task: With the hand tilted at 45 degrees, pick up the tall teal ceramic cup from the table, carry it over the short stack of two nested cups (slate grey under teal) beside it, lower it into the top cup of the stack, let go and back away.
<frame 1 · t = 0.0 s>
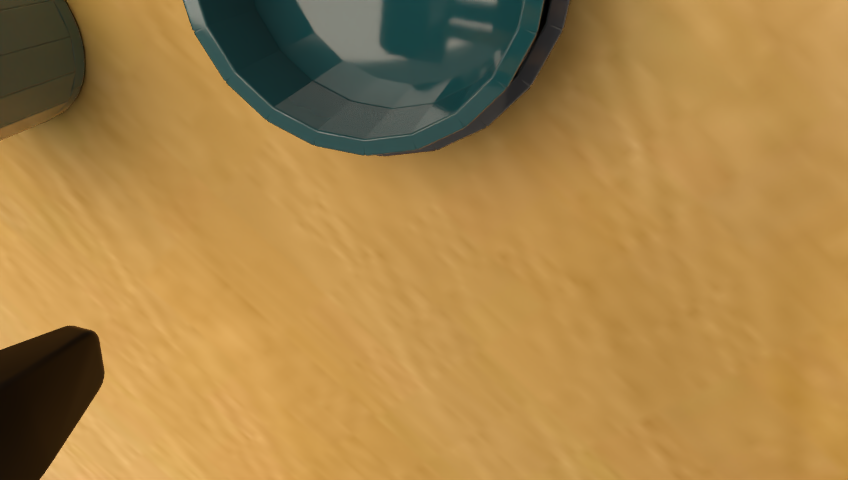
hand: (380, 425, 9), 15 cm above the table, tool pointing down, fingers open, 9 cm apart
teal cup: (8, 36, 25), on the table
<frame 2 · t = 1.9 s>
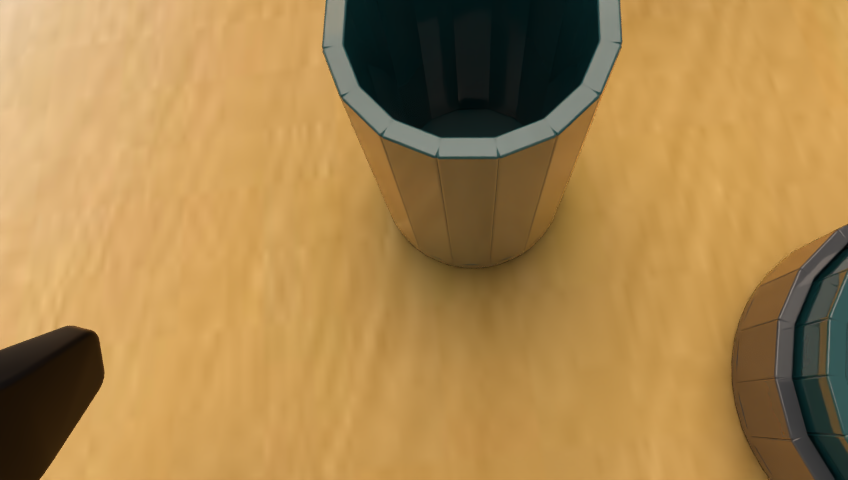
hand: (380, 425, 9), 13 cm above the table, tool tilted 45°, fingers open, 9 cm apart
teal cup: (472, 183, 24), on the table
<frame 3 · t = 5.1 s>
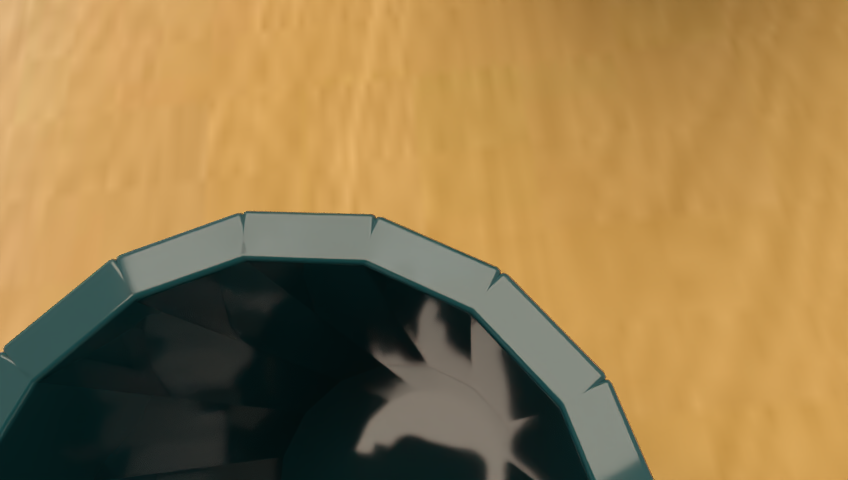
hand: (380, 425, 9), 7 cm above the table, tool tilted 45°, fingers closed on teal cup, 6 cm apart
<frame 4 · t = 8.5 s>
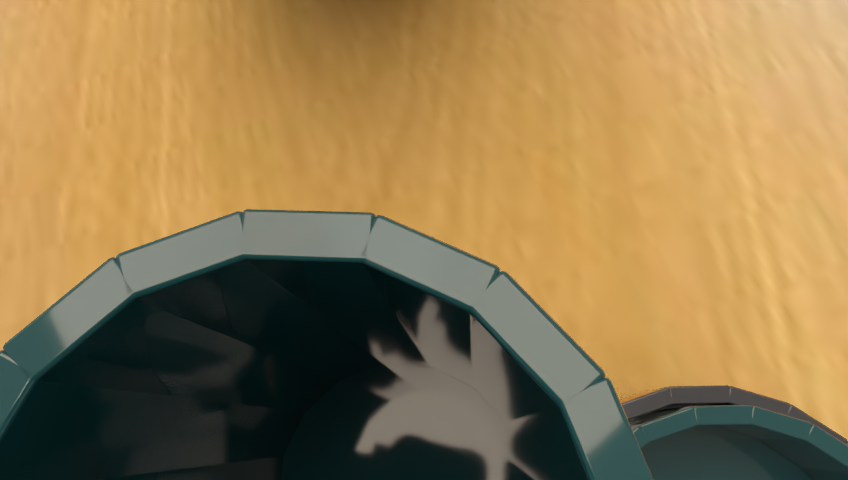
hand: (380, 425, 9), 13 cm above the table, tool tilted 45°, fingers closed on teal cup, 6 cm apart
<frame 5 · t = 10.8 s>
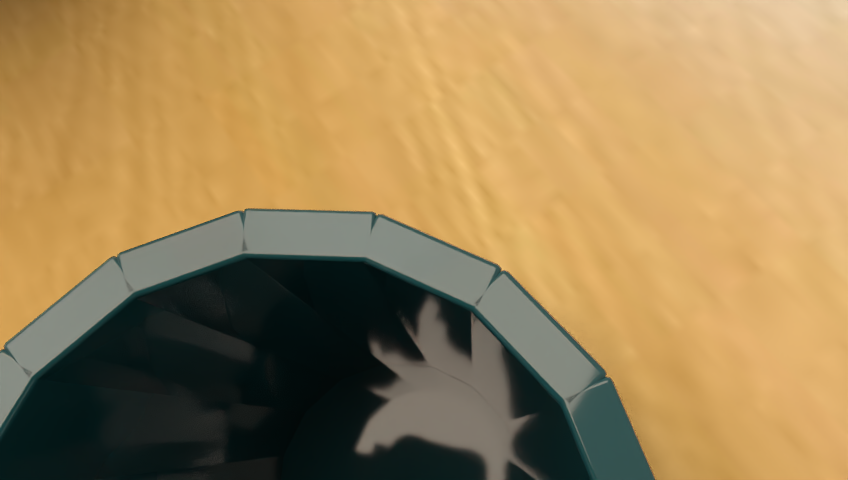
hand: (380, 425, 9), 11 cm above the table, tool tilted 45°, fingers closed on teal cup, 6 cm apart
when the fingers open (9 cm above the table, at t = 12.1 s): teal cup stays where it is, resting on stack top cup.
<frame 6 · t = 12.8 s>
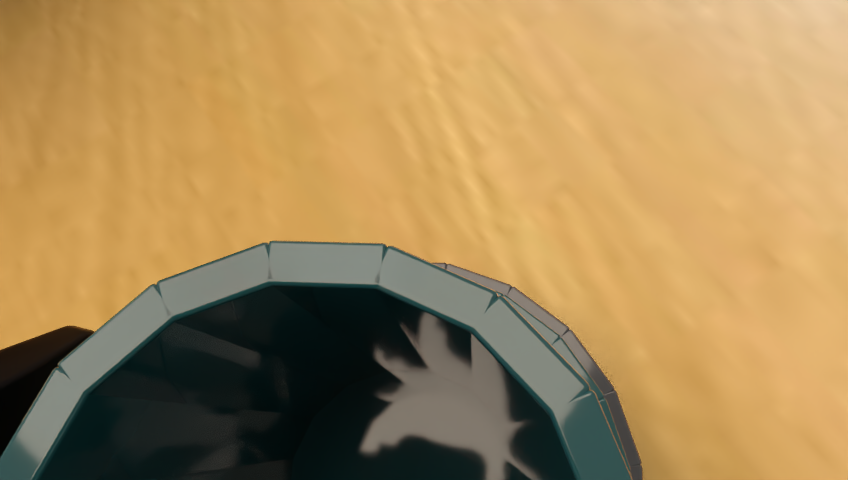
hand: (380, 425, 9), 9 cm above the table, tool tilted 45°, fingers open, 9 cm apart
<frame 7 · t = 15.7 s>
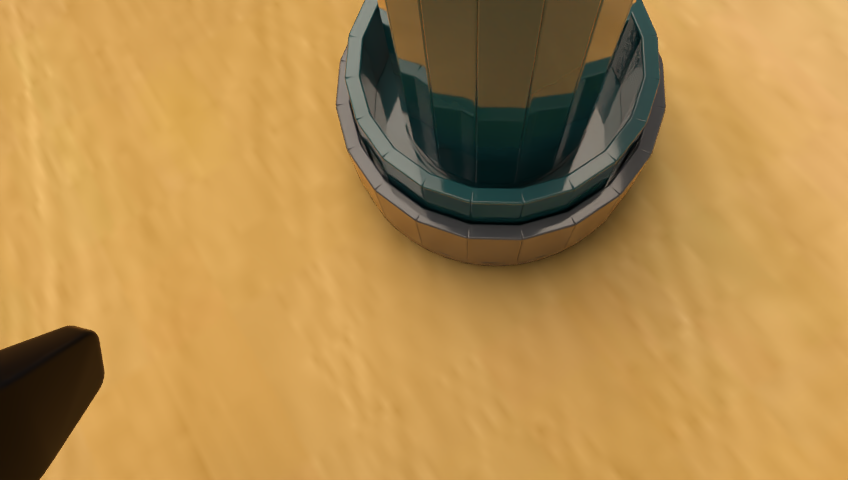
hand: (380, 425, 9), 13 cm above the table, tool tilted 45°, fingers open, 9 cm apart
teal cup: (496, 103, 23), point 2 cm above the table, touching stack top cup
stack base cup: (494, 129, 25), on the table
stack top cup: (496, 96, 22), in the stack base cup
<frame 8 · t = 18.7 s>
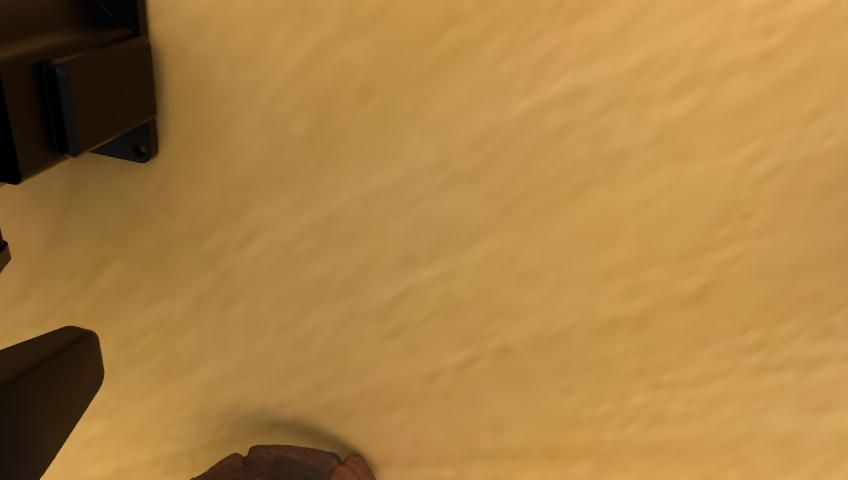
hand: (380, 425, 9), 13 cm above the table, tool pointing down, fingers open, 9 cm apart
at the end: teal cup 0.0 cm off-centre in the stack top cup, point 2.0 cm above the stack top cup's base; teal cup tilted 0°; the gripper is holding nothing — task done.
